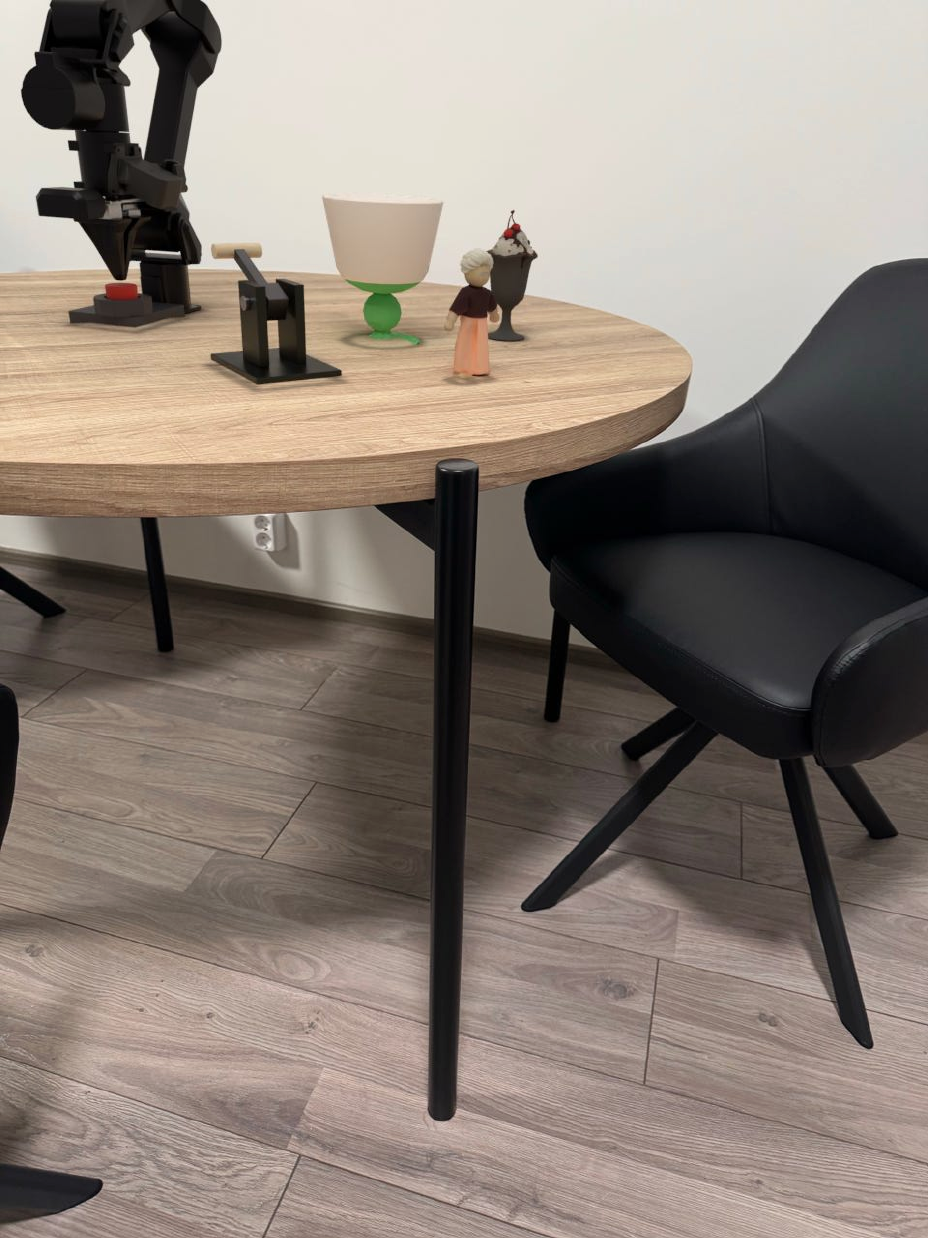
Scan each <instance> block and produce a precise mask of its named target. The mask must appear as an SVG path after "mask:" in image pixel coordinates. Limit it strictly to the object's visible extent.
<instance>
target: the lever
mask: <svg viewBox="0 0 928 1238" xmlns="http://www.w3.org/2000/svg"><path fill="white" fill-rule="evenodd" d="M210 253H211V257H212V258H213V259H214V260H223V259H224V260H226V259H233V260H234V262H235V263H236V265H237V266H238V267H239V268H240V270H241V271H242V273H243V275H244V276H245V277H246V280H248V281H251V282H254V283H256V284H259V285H262V286H265V291H266V310H267V322H271V321H278V320H286V315H287V309H288V302H289V298H288V297H287V295H286V294H285V292H284V291H283V289H282V288H281V287H280V285H279V284H278V283H276V282H267V280H266V278H264V276H263V274H262V273H261V271H260V270H259V268H258V267H257V266H256V264H255V262H254V261H253V260H252V259H260V258H262V255H263V248H262V245H261V244H260V242H238V243H237V242H235V243H234V242H232V243H229V242H228V243H227V242H226V243H212V244H211V246H210Z"/></svg>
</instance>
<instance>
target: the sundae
mask: <svg viewBox="0 0 928 1238" xmlns="http://www.w3.org/2000/svg"><path fill="white" fill-rule="evenodd" d="M514 213H516V210H514V209H513V210H510V216H509V218H508V221H507V227H506V229H504V231H503V232H502V233H501V235H500V237H498V240H497V241H496V243H495V244H494V246H493V247H492V248H491V249H488V250H485V251H486V252H488V254H490V255H491V256H492V258H493V268H492V269H491V271H490V278H489V283H490V290H491V291H492V293H493V295H494V297H495V299H496V302H497V306H499V307H500V309H501V319H500V324H499V326H498V327H497V328H496V330H494V331H491V332H488V339H490V340H494V341H501V342H518V341H523V340H524V339H525V336H524V335H523V334H520V333H518V332H516V331H515V330H514V329H513V326H512V311H513V310H514V308H516V307H517V306H519V304H520V303H521V302H522V301H523V300H524V298H525V293H526V289H527V286H528V280H529V276H530V275H529V274H530V270H531V268H532V267H531V266H532V262H533V261H535V260H536V259H538V257H539V255H538V253H537V252H536V250H534V249H533V247H532V246H531V240H530V239H528V237H527V235H526V233H525V232H524V231H523V230H522V229H521V224H520V223H517V222H516V221H515V220H514ZM511 219H512V222H513V224H511V226H510V222H511Z"/></svg>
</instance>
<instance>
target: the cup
mask: <svg viewBox="0 0 928 1238" xmlns="http://www.w3.org/2000/svg"><path fill="white" fill-rule="evenodd" d="M321 199H322V203H323V208H324V214H325V217H326V222H327V229H328V233H329V238H330V243H331V248H332V253H333V257H334V262H335V268H336V269H337V271H338V273H339V274H340V276H341V278H343V280H345V282H347V283H348V284H349V285H351V286H352V287H355V288H357V289H359V290H360V291H363V292H367V293H372V294H371V295H369V296H368V297H367V299H366V300H365V302H364V303H363V309H362V314H363V318H364V320H365V322H366V323H367V325H368V327H370V328H371V329H372V330H373V332H372V333H370V334H369V335H368V336H369V337H370V338H372V339H379V340H380V339H381V340H385V339H386V340H388V339H394V338H399V339H401V340H404V341H406V342H409V343H412V344H415V345H418V344H419V343H420V342H421V341H420V340H419V338H418V337H416V336H413V335H411V334H406V333H400V332H391V330H393V329H395V328H396V327H397V325H398V324H399V323H400V321H401V319H402V313H403V311H402V306H401V303H400V302H399V300H398V298H397V297H396V296H395V295H393V294H397V293H398V294H399V293H403V292H406V291H407V290H410V289H412V288H415V287H416V286H418V285H419V284H420V283H421V282H422V281H424V280H425V278H426V276H427V275H428V273H429V270H430V267H431V262H432V258H433V252H434V248H435V243H436V239H437V235H438V228H439V224H440V220H441V217H442V211H443V207H444V201H443V199H440V198H433V197H428V196H427V197H426V196H416V195H402V194H389V193H386V194H385V193H363V192H362V193H358V192H357V193H356V192H355V193H354V192H353V193H350V192H349V193H347V192H340V193H338V192H337V193H324V194H322V195H321Z"/></svg>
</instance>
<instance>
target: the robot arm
mask: <svg viewBox="0 0 928 1238" xmlns="http://www.w3.org/2000/svg"><path fill="white" fill-rule="evenodd" d="M138 31H141V32H142V34H143V35H144V37H145V38H146V39H147V41H148V43H149V49H150V51H151V54H152V55H153V56H152V57H154V60H155V62H156V64H157V67H158V73H157V74H158V75H157V81H156V84H155V85H156V86H155V91H154V96H153V103H152V109H151V113H150V119H149V124H148V125H149V126H148V131H147V137H146V142H145V148H144V153H143V152H142V147H141V146H140V143H138V142H131V134H130V126H129V117H128V108H127V98H126V90H125V89H126V88H125V87H131V83H132V82H131V80H130V78H129V76H128V74H126V73H125V72H124V71H123V70H122V69H121V68H120V65H121V63H122V61H123V60H124V59H126V57H127V56H128V55H129V53H130V52H131V51H132V50H133V48H134V46H135V39H134V34H135V33H137V32H138ZM222 43H223V40H222V33H221V29H220V26H219V24H218V22H217V20H216V18H215V17H214V15H213V13H212V11H211V9H210V8H209V6H208V4H207V3H205V1H203V0H50V3H49V9H48V11H47V13H46V18H45V23H44V27H43V31H42V36H41V41H40V45H39V49H38V51H37V50H36V51H34V53H33V54H34V55H33V56H34V61H35V62H34V63H35V65H34V66H33V67H31V68H30V69H29V70H27V72H26V74H25V75H24V78H23V81H22V87H21V89H20V96H21V99H22V103H23V106H24V108H25V110H26V112H27V114H28V115H29V117H30V118H31V119H32V120H33V121H35V123H36V124H37V125H39V126H41V127H42V128H45V129H48V130H51V131H52V130H53V131H54V130H55V131H74V135H75V140H74V139H73V140H72V139H69V140H67V146H68V151H70V152H77V158H78V165H79V173H80V179H81V180H77V181H73V187H69V186H67V187H66V186H51V187H41V188H40V189H39V190H38V192H37V194H36V195H35V202H36V203H35V204H36V209H37V214H38V217H47V218H59V219H71V220H73V222H75V223H78V224H79V225H80V227H81V228H82V230H83V231H84V233H85V234H86V235H87V237H88V238H89V240H90V242H91V243H92V245H93V246H94V248H95V249H96V251H97V253H98V254H99V256H100V257H101V259H102V261H103V262H104V265H105V266H106V267H107V269H108V271H109V272H110V275H111V277H113V279H114V280H115V281H118V282H123V281H126V280H127V278H128V274H129V268H130V263H131V262H139V272H140V277H139V279H140V288H141V294H146V295H149V296H151V299H152V302H158V303H171V304H181V305H184V314H188V313H192V312H196V311H199V310H202V305H201V304H192V300H191V299H192V298H191V288H190V287H191V286H190V278H189V277H190V275H189V266H190V265H192V266H193V265H200V264H201V262H202V255H203V253H202V251H203V250H202V249H203V246H202V243H201V241H200V239H199V237H198V235H197V233H196V230H195V229H194V227H193V225H192V223H191V221H190V216H191V215H190V211H189V209H188V206H187V204H186V202H185V199H184V197H183V195H182V194H183V193H187V192H188V190H189V187H188V185H187V177H186V176H187V175H186V171H185V165H186V158H187V152H188V149H189V147H188V146H189V141H190V135H191V128H192V123H193V118H194V112H195V105H196V100H197V94H198V89H199V88H200V87H201V86H202V85H203V84H204V83H205V82H206V81H207V80H208V79H209V78H210V77H211V76H212V75H213V74H214V72H215V68H216V65H217V62H218V58H219V54H220V52H221V51H222ZM146 251H150V252H146ZM151 251H152V252H151ZM153 251H154V252H153ZM158 252H167V253H158ZM176 253H179V254H176Z"/></svg>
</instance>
